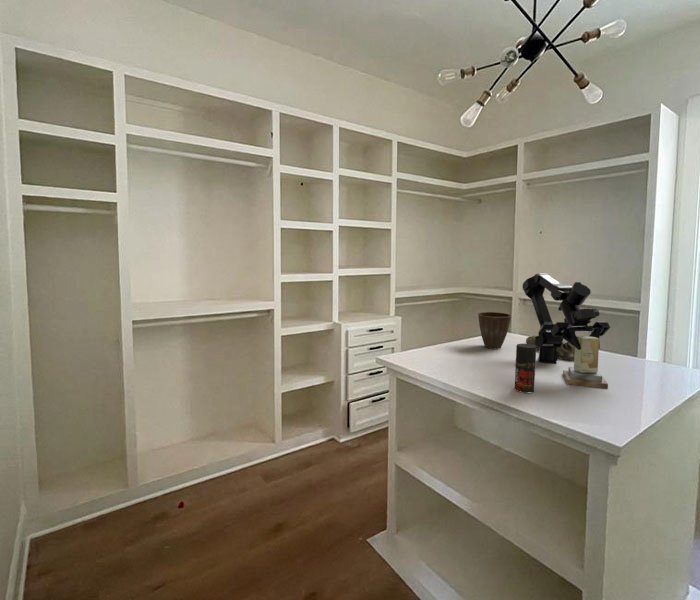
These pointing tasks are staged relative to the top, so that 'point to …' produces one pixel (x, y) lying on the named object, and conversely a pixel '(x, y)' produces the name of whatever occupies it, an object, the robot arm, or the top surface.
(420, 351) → the top surface
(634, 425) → the top surface
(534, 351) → the deodorant
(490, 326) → the plant pot
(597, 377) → the brown picture frame
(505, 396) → the top surface
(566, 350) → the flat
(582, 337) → the skincare box
